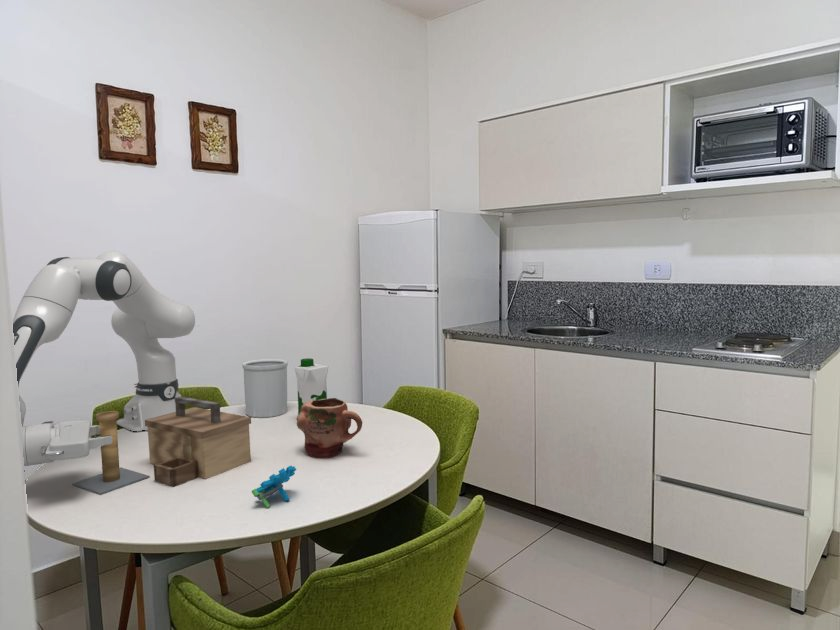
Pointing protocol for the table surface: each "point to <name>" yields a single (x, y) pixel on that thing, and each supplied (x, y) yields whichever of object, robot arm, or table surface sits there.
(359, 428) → the pink ceramic mug
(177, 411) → the toolbox
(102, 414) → the tan cylinder
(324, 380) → the milk carton
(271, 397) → the utensil holder
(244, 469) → the table surface
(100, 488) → the mat
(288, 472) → the gear
